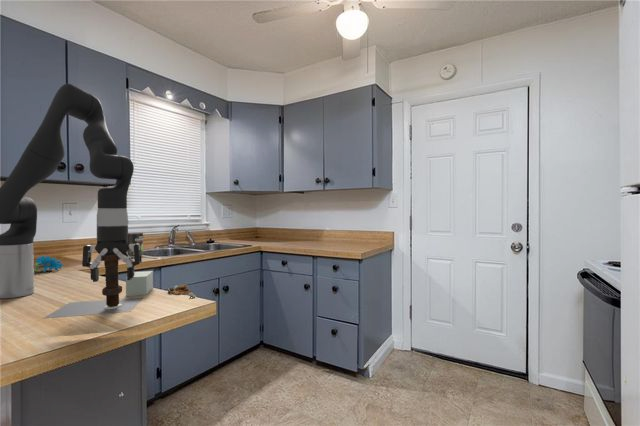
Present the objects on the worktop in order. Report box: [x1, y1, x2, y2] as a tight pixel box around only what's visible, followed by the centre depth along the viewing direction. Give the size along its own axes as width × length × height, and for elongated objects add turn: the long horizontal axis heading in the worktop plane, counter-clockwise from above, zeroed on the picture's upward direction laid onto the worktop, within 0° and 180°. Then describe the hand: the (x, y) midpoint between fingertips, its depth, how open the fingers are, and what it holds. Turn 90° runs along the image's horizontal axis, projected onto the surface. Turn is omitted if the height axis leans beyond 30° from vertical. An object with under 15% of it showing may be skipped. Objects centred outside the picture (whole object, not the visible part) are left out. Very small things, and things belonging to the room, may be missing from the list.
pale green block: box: [125, 270, 154, 297], centre depth 107 cm, size 6×9×7 cm, turn 16°
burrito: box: [166, 284, 197, 300], centre depth 106 cm, size 7×12×4 cm, turn 68°
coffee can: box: [126, 232, 144, 259], centre depth 188 cm, size 10×10×14 cm
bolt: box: [100, 254, 123, 307], centre depth 90 cm, size 6×5×15 cm
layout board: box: [43, 297, 144, 319], centre depth 90 cm, size 20×14×1 cm
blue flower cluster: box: [34, 255, 64, 273], centre depth 144 cm, size 11×6×10 cm
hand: (113, 280), depth 90 cm, fingers open, 8 cm apart
